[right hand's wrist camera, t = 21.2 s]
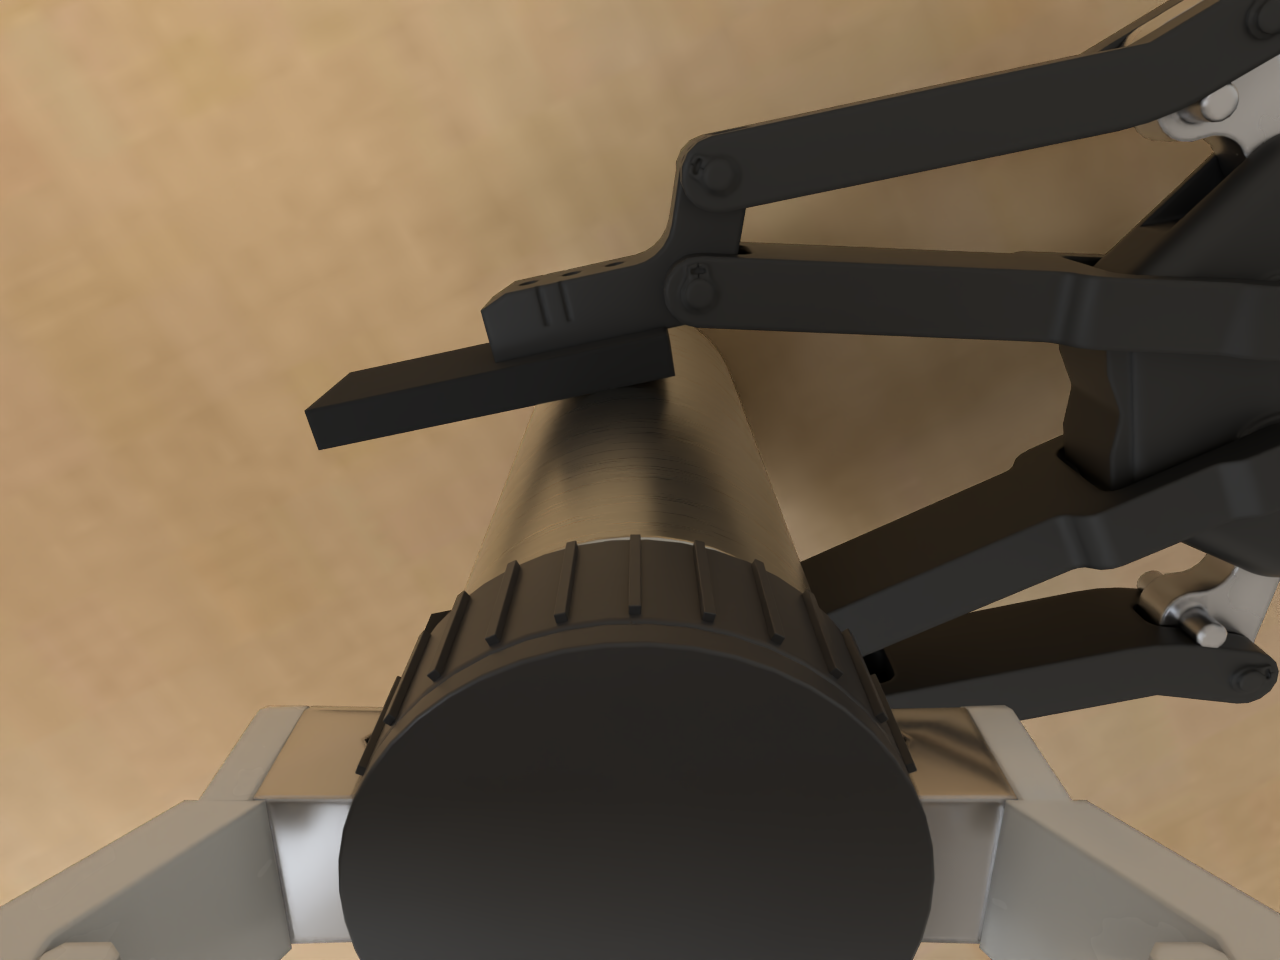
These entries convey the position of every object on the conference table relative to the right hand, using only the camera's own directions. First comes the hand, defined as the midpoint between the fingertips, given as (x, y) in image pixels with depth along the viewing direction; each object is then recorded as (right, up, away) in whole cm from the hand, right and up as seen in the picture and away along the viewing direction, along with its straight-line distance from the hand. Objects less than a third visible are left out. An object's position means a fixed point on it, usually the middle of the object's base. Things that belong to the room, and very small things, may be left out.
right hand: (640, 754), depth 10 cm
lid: (0, -1, -2) cm, 2 cm away
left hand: (-5, +2, +8) cm, 10 cm away
